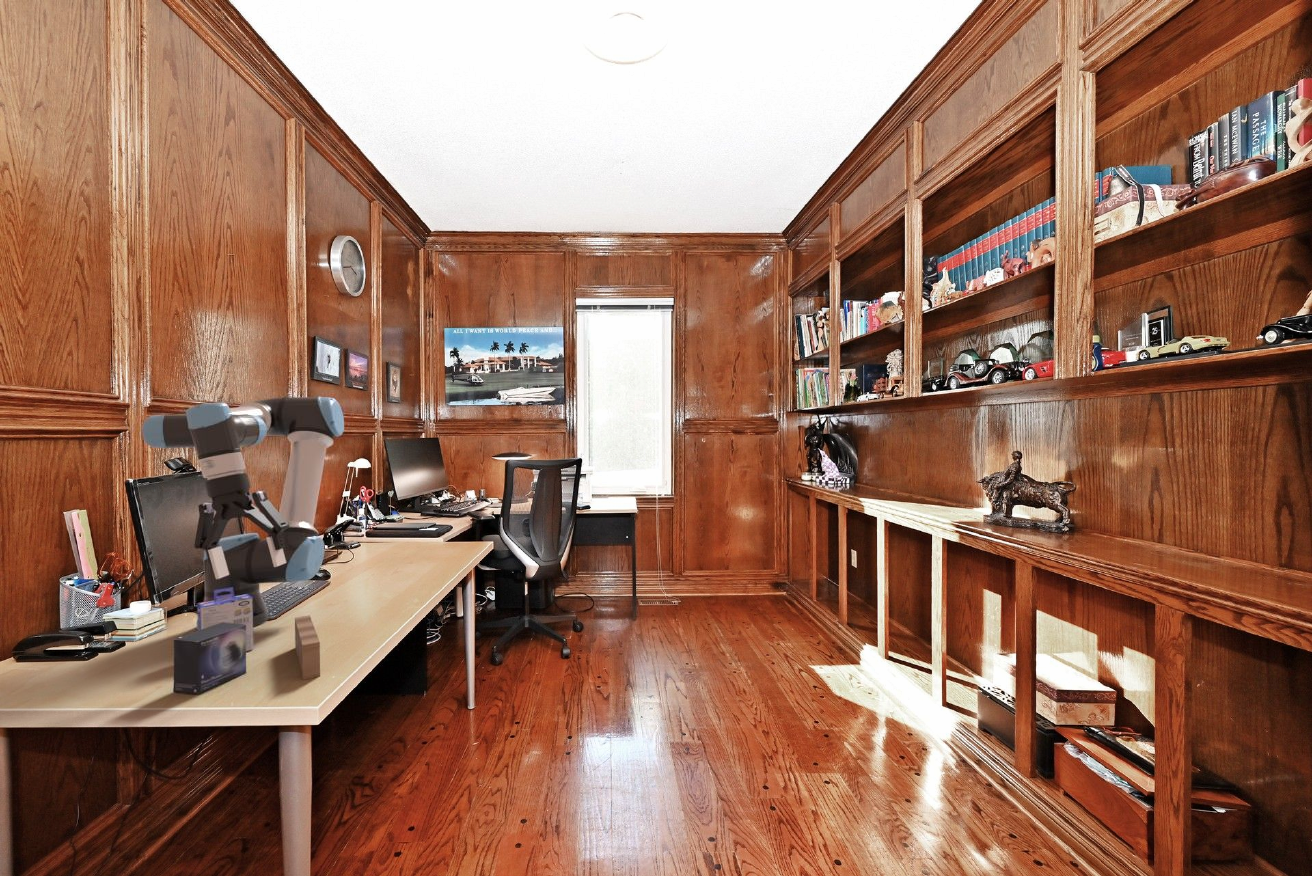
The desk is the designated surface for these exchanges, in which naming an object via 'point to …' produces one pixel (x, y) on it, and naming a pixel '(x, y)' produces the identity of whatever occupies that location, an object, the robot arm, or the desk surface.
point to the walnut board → (307, 647)
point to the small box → (209, 657)
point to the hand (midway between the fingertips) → (251, 571)
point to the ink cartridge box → (227, 612)
